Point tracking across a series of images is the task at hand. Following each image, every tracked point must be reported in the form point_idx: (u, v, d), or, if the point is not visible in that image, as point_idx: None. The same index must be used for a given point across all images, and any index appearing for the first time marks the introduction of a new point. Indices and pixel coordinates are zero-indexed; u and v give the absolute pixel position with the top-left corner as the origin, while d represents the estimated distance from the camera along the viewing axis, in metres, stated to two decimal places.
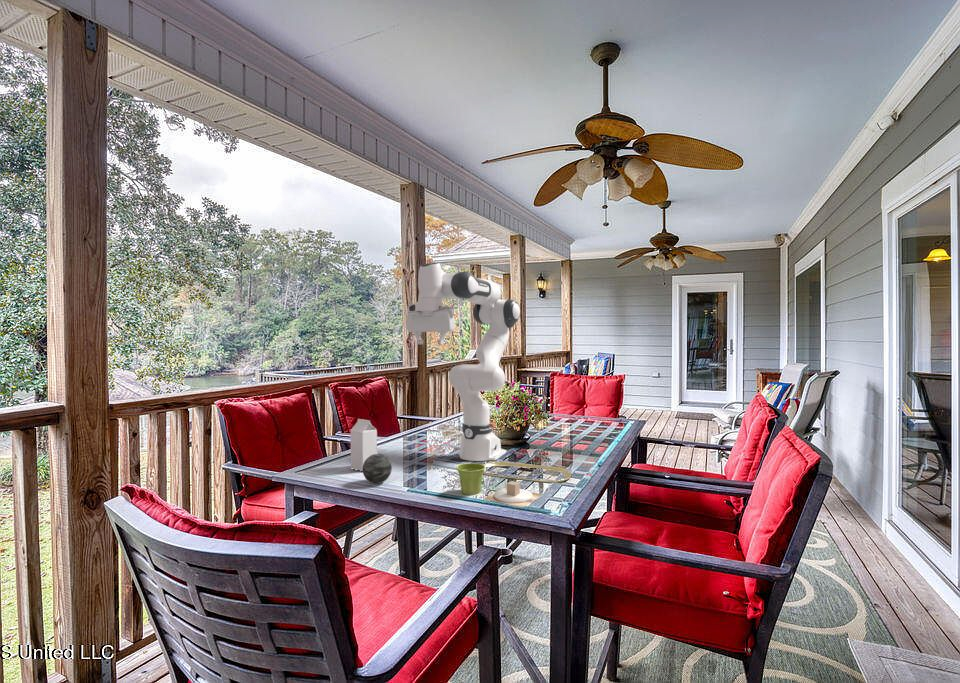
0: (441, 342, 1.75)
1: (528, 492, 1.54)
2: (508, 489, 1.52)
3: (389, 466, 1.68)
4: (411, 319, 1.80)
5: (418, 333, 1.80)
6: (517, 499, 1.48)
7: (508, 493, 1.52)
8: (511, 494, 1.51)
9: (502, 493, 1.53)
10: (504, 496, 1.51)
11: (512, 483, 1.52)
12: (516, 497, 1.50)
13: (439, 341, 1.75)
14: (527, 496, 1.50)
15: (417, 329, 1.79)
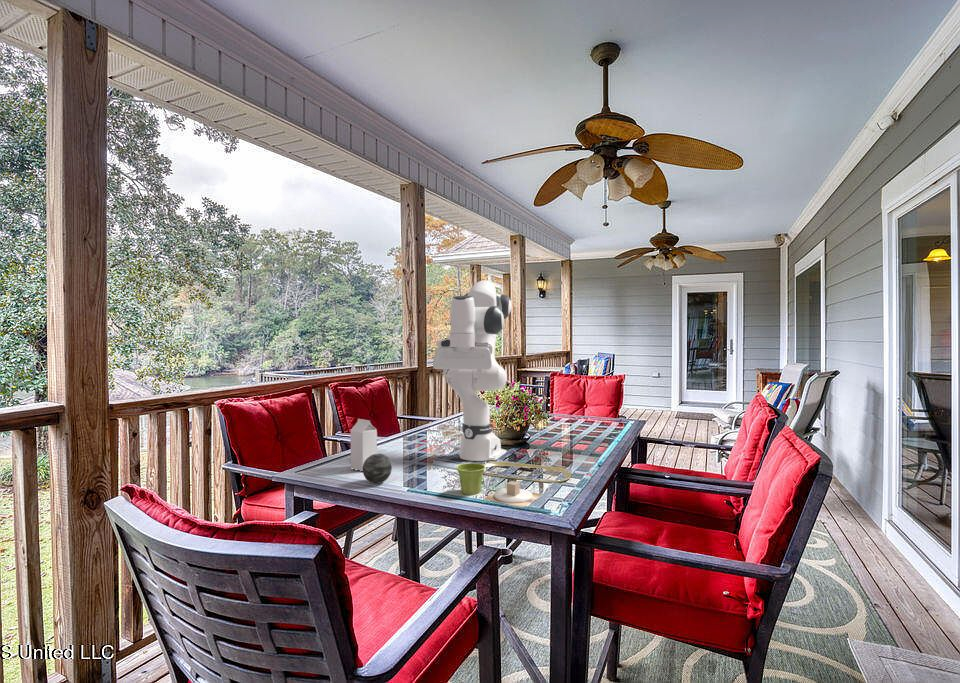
0: (477, 380, 1.67)
1: (528, 492, 1.54)
2: (508, 489, 1.52)
3: (389, 466, 1.68)
4: (440, 355, 1.64)
5: None
6: (517, 499, 1.48)
7: (508, 493, 1.52)
8: (511, 494, 1.51)
9: (502, 493, 1.53)
10: (504, 496, 1.51)
11: (512, 483, 1.52)
12: (516, 497, 1.50)
13: (476, 379, 1.66)
14: (527, 496, 1.50)
15: (448, 366, 1.64)
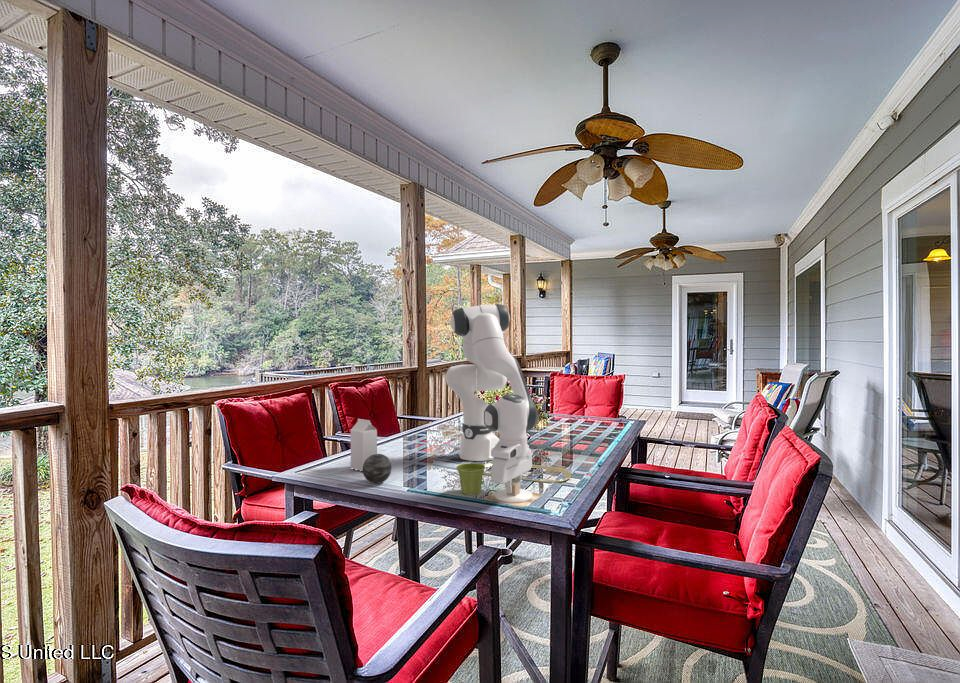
0: None
1: (528, 492, 1.54)
2: None
3: (389, 466, 1.68)
4: (506, 467, 1.45)
5: None
6: (517, 499, 1.48)
7: (508, 493, 1.52)
8: (511, 494, 1.51)
9: (502, 493, 1.53)
10: (504, 496, 1.51)
11: (512, 483, 1.52)
12: (516, 497, 1.50)
13: None
14: (527, 496, 1.50)
15: (510, 477, 1.48)
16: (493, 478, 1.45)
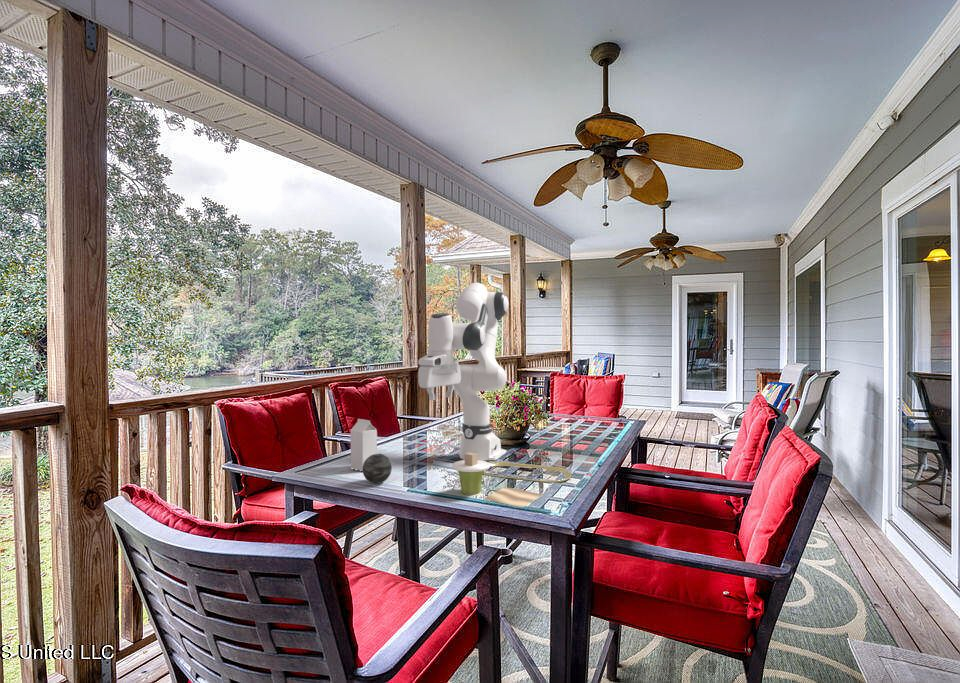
0: None
1: (486, 463, 1.59)
2: (465, 459, 1.57)
3: (389, 466, 1.68)
4: (431, 373, 1.63)
5: None
6: (473, 468, 1.53)
7: (466, 463, 1.57)
8: (468, 464, 1.56)
9: (460, 463, 1.58)
10: (461, 466, 1.56)
11: (470, 454, 1.57)
12: (472, 467, 1.55)
13: (451, 394, 1.74)
14: (484, 466, 1.55)
15: (436, 384, 1.65)
16: (419, 383, 1.62)
